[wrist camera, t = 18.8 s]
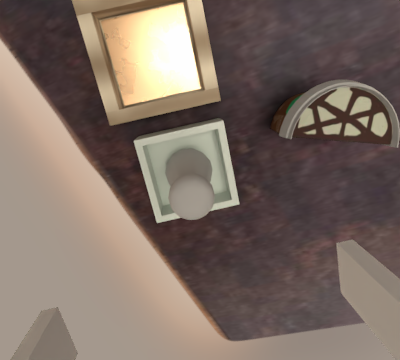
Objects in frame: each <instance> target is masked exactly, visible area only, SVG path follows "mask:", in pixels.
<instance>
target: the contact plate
mask: <svg viewBox="0 0 400 360" xmlns="http://www.w3.org/2000/svg"><path fill="white" fill-rule="evenodd" d="M101 24H102V27H103V31H104V35H105V38H106V42H107V45H108V49H109V52H110V56H111V59H112V63H113V66H114V70H115V73H116V77H117V80H118V84H119V87H120V91H121V94H122V98H123V101H124V105H125V106H126V105H130V104H135V103H139V102H144V101H148V100H152V99H157V98H161V97H165V96H170V95H174V94H179V93H183V92H187V91H192V90H196V89H201V87H200V83H199V78H198V73H197V68H196V63H195V59H194V54H193V49H192V44H191V39H190V34H189V30H188V25H187V20H186V15H185V10H184V5H183V2H182V3H177V4H173V5H169V6H164V7H160V8H155V9H151V10H146V11H142V12H138V13H133V14H129V15H124V16H120V17H116V18H111V19H107V20H102V21H101Z"/></svg>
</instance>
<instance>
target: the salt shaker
mask: <svg viewBox="0 0 400 360" xmlns="http://www.w3.org/2000/svg"><path fill="white" fill-rule="evenodd" d="M165 174H166V177H167V180H168V183H169V185H170V186H171V187H170V191H169V197H168V199H169V202H170V205H171V208H172V210H173V211H174V212H175V213H176V214H177V215H178V216H179V217H181V218H184V219H187V220H196V219H200V218H202V217H203V216H205V215H207V214H208V212H209V211H210V210H211V209H212V207H213V203H214V197H215V194H214V191H213V187H212V185H211V183H210V181H211V176H212V166H211V162H210V160H209V159H208V158H207V157H206V155H205V154H204V153H203V152H200V151H198V150H195V149H193V148H191V149H182V150H180V151H178V152H176V153H174V154H173V155H172V156H171V158H170V159H169V161H168V162H167V165H166V172H165Z"/></svg>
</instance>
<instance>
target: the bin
mask: <svg viewBox="0 0 400 360" xmlns="http://www.w3.org/2000/svg"><path fill="white" fill-rule="evenodd" d="M134 144H135V148H136V151H137V155H138V158H139V162H140V165H141V169H142V172H143V176H144V179H145V183H146V186H147V190H148V193H149V197H150V200H151V204H152V207H153V211H154V214H155V218H156V221H157V223H160V222H164V221H169V220H173V219H177V218H181V217H179V216H178V215H177V214H176V213H175V212H174V211H173V210H172V208H171V205H170V202H169V199H168V197H169V191H170V187H171V186H170V185H169V183H168V180H167V177H166V174H165V172H166V165H167V162H168V161H169V159H170V158H171V156H172V155H173V154H174V153H176V152H178V151H180V150H182V149H191V148H193V149H195V150H198V151H200V152H203V153H204V154H205V155H206V157H207V158H208V159H209V160H210V162H211V166H212V176H211V181H210V183H211V185H212V187H213V191H214V194H215V197H214V203H213V207H212V209H211V210H210V211H212V210H217V209H221V208H225V207H230V206H234V205H239V199H238V194H237V189H236V184H235V179H234V173H233V168H232V163H231V158H230V152H229V147H228V142H227V137H226V132H225V126H224V121H223V120H222V119H220V118H216V119H211V120H207V121H203V122H198V123H194V124H190V125H185V126H181V127H176V128H172V129H168V130H163V131H159V132H154V133H150V134H146V135H141V136H138V137H137V138H136V139H135V140H134Z"/></svg>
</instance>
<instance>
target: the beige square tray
mask: <svg viewBox="0 0 400 360" xmlns="http://www.w3.org/2000/svg"><path fill="white" fill-rule="evenodd" d="M72 2H73V5H74V9H75V12H76V15H77V19H78V22H79V25H80V29H81V32H82V35H83V38H84V42H85V45H86V48H87V52H88V55H89V58H90V61H91V65H92V68H93V71H94V75H95V78H96V81H97V84H98V88H99V91H100V94H101V98H102V101H103V104H104V107H105V111H106V114H107V117H108V121H109V124H110V126H112V125H116V124H120V123H125V122H129V121H134V120H138V119H142V118H147V117H151V116H156V115H160V114H164V113H169V112H173V111H177V110H182V109H186V108H191V107H195V106H199V105H204V104H208V103H213V102H217V101H221V99H220V94H219V89H218V83H217V78H216V73H215V67H214V62H213V57H212V52H211V46H210V41H209V36H208V31H207V25H206V20H205V15H204V10H203V4H202V0H72ZM182 2H183V5H184V10H185V15H186V20H187V25H188V30H189V34H190V39H191V44H192V49H193V54H194V59H195V63H196V68H197V73H198V78H199V83H200V87H201V89H196V90H192V91H187V92H183V93H179V94H174V95H170V96H165V97H161V98H157V99H152V100H148V101H144V102H139V103H135V104H130V105H126V106H125V105H124V101H123V98H122V94H121V91H120V87H119V84H118V80H117V77H116V73H115V70H114V66H113V63H112V59H111V56H110V52H109V49H108V45H107V42H106V38H105V35H104V31H103V27H102V24H101V21H102V20H107V19H111V18H116V17H120V16H124V15H129V14H133V13H138V12H142V11H146V10H151V9H155V8H160V7H164V6H169V5H173V4H177V3H182Z"/></svg>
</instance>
